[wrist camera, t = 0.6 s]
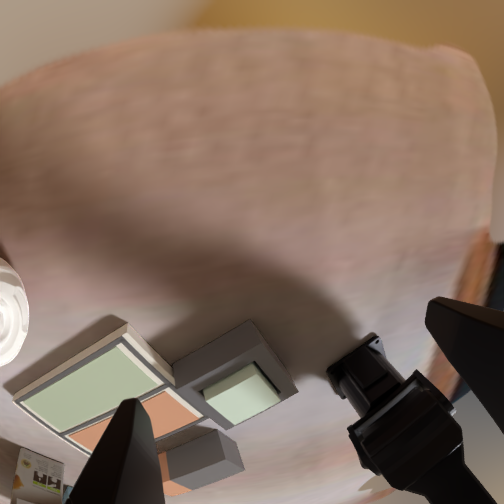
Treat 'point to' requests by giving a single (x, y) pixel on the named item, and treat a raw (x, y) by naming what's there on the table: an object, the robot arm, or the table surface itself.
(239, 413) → the button
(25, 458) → the coffee box
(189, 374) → the button housing
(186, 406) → the picture board
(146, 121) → the table surface
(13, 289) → the white steamed bun
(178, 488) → the orange-tipped gray block
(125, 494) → the robot arm
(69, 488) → the gum box
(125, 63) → the table surface
